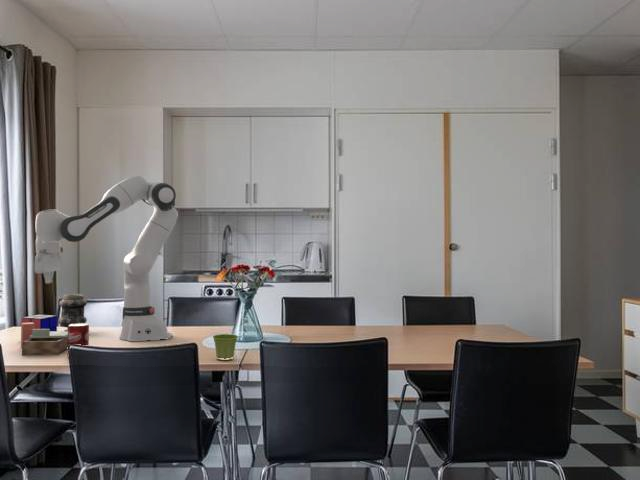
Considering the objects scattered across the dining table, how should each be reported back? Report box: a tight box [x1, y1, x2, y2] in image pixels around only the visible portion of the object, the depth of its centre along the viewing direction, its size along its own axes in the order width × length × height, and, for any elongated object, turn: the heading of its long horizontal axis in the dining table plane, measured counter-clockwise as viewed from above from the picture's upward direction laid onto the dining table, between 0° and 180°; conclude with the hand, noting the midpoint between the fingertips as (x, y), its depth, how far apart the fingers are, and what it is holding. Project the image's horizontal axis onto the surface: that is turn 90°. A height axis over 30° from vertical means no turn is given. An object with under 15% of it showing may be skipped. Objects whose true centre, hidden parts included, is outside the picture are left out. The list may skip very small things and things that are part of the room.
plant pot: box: [212, 333, 239, 359], centre depth 188 cm, size 9×9×9 cm
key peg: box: [20, 322, 34, 350], centre depth 202 cm, size 4×4×10 cm
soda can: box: [66, 322, 90, 357], centre depth 189 cm, size 7×7×12 cm
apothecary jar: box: [57, 293, 88, 331], centre depth 237 cm, size 12×12×18 cm
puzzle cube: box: [21, 314, 58, 331], centre depth 221 cm, size 10×10×10 cm
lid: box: [30, 329, 68, 338], centre depth 202 cm, size 13×10×3 cm
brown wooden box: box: [21, 337, 67, 356], centre depth 195 cm, size 13×10×5 cm
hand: (48, 283), depth 205 cm, fingers closed
